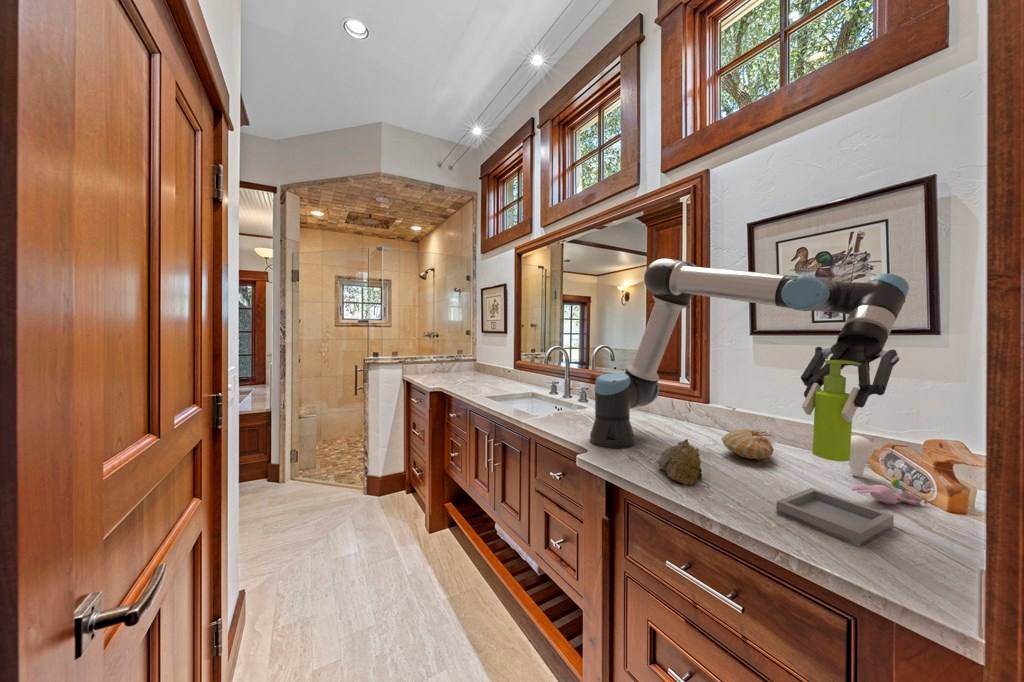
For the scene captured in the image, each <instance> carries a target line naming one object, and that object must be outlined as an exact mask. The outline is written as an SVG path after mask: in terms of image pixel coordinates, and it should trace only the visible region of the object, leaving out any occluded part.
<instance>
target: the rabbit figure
mask: <svg viewBox="0 0 1024 682" xmlns="http://www.w3.org/2000/svg"><path fill="white" fill-rule="evenodd" d="M900 481H901V480H900V479H899V478H895V479H892V480H891V482H890V483H891V486H892V487H893V488H895V489H896V490H898V491H897V493H895V492H894V491H893V490H892V489H891V488H890V487H888V486H886V485H882V484H874V485H869V486H868V485H864V484H856V485H853V486H852V487H851V491H852V492H853V491H857V494H869V495H870V496H871V497H872V498H873V499H875V500H876V501H878V502H881V503H882V504H887V505H889V504H891V505H894V504H897V503H898V502H899V503H900V502H903V503H905V504H909V505H912V506H919V505H920V504H921V503H922V502H923V503H922V504H924V505H926V506H928V505H929V503H928V497H926V498H925V497H924V496H917V495H916V493H913V492H912V491H909V490H907V489H906V488H905V486H903V485H902V484H900V483H899V482H900Z"/></svg>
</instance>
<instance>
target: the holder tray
mask: <svg viewBox="0 0 1024 682" xmlns="http://www.w3.org/2000/svg"><path fill="white" fill-rule="evenodd" d="M776 513H777V514H778V515H780V516H783V517H785V518H788V519H790V520H793V521H796V522H797V523H800V524H802V525H805V526H807V527H809V528H812V529H814V530H817V531H818V532H821V533H824V534H827V535H829V536H831V537H833V538H836V539H838V540H841V541H843V542H846V543H848V544H850V545H852V546H855V547H857V548H862V547H863V546H866V545H867V544H869V543H870V542H872V541H873V540H875V539H877V538H878V537H880V536H882V535H884V534H886V533H887V532H889V531H890V530H892V529H894V514H891V513H888V512H884V511H883V510H880V509H879V510H878V509H876V508H873V507H870V506H867V505H864V504H861V503H859V502H855V501H852V500H850V499H846V498H843V497H840V496H836V495H835V494H834V495H833V494H830V493H827V492H825V491H822V490H819V489H816V488H813V487H809V488H807V489H804V490H802V491H799V492H797V493H794V494H792V495H789V496H787V497H783V498H781V499H778V500H777V501H776Z"/></svg>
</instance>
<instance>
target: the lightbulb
mask: <svg viewBox="0 0 1024 682" xmlns="http://www.w3.org/2000/svg"><path fill="white" fill-rule="evenodd" d="M874 450H875V448H874V445H873V443H872V442H871V441H870V440H869V439H867V438H866V437H865V436H861V435H858V434H857V435H856V434H854V435H853V434H851V447H850V460H849V461H848V465H849V467H850V468H849V470H850V471H849V473H850V474H851V475H853V476H854V477H855V478H858V477H862V476H864V470H865V468H866V464H867V461H868V460H869V459H870V458H871V456H873V454H874Z"/></svg>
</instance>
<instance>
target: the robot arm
mask: <svg viewBox="0 0 1024 682" xmlns="http://www.w3.org/2000/svg"><path fill="white" fill-rule="evenodd" d="M643 281H644V284H645V288H647V290H649V292H650V293H652V298H653V300H654V305H653V307H652V310H651V312H650V316H649V319H648V322H647V325H646V327H645V330H644V333H643V335H642V338H641V340H640V343H639V345H638V347H637V348H638V349H637V351H636V355H635V356H634V359H633V362H632V364H629V365H627V366H626V368H625V371H624V373H622V372H612V373H604V374H601V375H599V376H597V377H596V379H595V383H594V384H595V385H594V408H595V409H594V415H595V416H594V417H595V418H594V421H593V425H592V430H591V432H590V434H589V441H590V442H591V443H592V444H594V445H596V446H599V447H602V448H610V449H624V448H625V449H627V448H631V447H632V446H634V445H635V444H636V436H635V433H634V431H633V427H632V424H631V422H630V421H631V420H630V417H631V415H630V412H631V410H630V409H634V408H639V407H644V406H647V405H649V404H652V403H653V402H654V401H655V400H656V399H657V397H658V396H659V393H660V385H659V379H660V376H659V375H658V369H659V368H660V367H659V366H660V365H661V362H662V360H663V357H664V354H665V352H666V349H667V347H668V344H669V342H670V338H671V335H673V331H674V328H675V326H676V323H677V321H678V319H679V316H680V314H681V311H682V310H683V309H685V308H687V307H688V306H689V304H690V301H691V299H692V297H694V296H703V297H709V298H718V299H725V300H730V301H731V300H732V301H737V302H738V301H739V302H746V303H754V304H761V305H767V306H774V307H780V308H786V309H792V310H796V311H801V312H810V311H815V312H828V313H834V314H835V313H836V314H838V313H839V314H846V315H848V317H847V319H846V321H845V323H844V324H843V326H842V328H841V330H840V332H839V335H838V336H837V339H836V342H835V344H834V343H833V345H832V346H831V347H828V348H823V347H821V346H817V347H815V349H814V355H813V357H812V358H811V360H810V361H809V363H808V365H807V367H806V368H805V370H804V371H803V373H802V374H801V376H800V379H801V381H802V382H803V385H804V386H806V387H805V389H804V392H803V396H804V402H803V403H802V405H801V408H802V409H803V411H804V412H805V415H808V416H811V415H812V413H813V412H814V410H815V392H816V391H823V390H822V386H824V376H827V375H828V374H830V364H826V363H825V361H826V360H847V361H853V362H858V363H861V365H854V364H841V370H843V369H844V368H845V367H846V366H847V367H848V366H853V367H857V372H858V373H857V374H858V384H857V385H858V387H852V389H851V391H850V393H849V394H850V395H849V397H848V399H847V402H846V404H845V406H844V408H843V410H842V412H841V413H842V415H843V417H844V419H845V421H846V422H851V420H852V421H853V418H854V415H855V414H856V411H857V410H858V408H863V407H865V406H866V403H867V401H868V399H869V397H870V396H872V395H878V396H883V395H884V394H885V393H886V390H887V387H888V383H889V380H890V378H891V374H892V370H893V367H894V366H895V365H896V364H898V362H900V357H899V355H898V352H897V351H896V349H889V350H884V347H885V345H886V342H887V341H888V339H889V336H890V334H891V331H892V329H893V327H894V324H895V322H896V320H897V318H898V316H899V315H900V312H901V311H902V308H903V306H904V304H905V303H906V299H907V296H908V292H909V290H910V287H909V286H910V285H909V283H908V282H907V280H906V279H905V278H903V277H902V276H901V275H900V276H899V275H897V274H893V273H880V274H876V275H872V276H871V277H869V278H868V279H867V280H866V281H864V282H859V281H858V282H854V281H853V282H849V281H848V282H847V281H834V280H827V279H822V278H819V277H817V276H811V275H800V276H799V275H786V274H779V273H765V272H757V271H756V272H753V271H743V270H742V271H741V270H733V269H732V270H731V269H721V268H710V267H698V266H697V265H695V264H694V263H691V262H689V261H685V260H677V259H671V258H659V259H657V260H654V261H652V262H651V263H650V264H649V265H648V266H647V268H646V269H645V272H644V277H643ZM830 355H831V356H830ZM829 357H830V358H829ZM879 358H880V361H879V364H878V366H877V370H876V373H875V375H874V379H873V382H872V384H871V377H870V376H871V375H870V371H871V370H870V369H871V368H870V367H871V366H870V363H872V362H874V361H876V360H878V359H879Z"/></svg>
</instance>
